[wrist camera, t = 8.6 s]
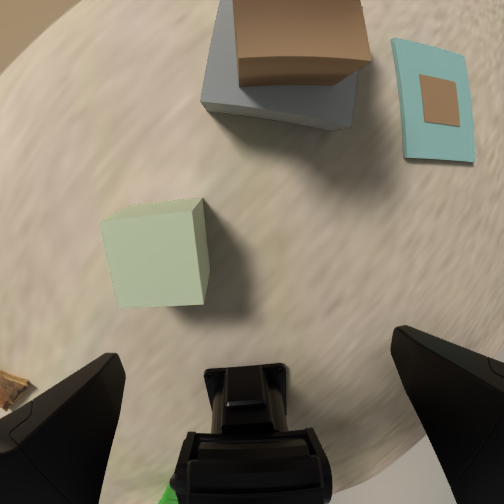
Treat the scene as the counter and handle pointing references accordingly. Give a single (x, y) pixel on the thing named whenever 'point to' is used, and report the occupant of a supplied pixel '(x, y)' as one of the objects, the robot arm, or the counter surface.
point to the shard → (10, 389)
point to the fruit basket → (169, 497)
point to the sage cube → (158, 253)
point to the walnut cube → (299, 41)
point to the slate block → (270, 88)
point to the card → (434, 102)
